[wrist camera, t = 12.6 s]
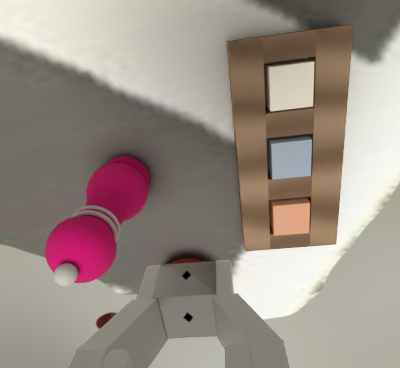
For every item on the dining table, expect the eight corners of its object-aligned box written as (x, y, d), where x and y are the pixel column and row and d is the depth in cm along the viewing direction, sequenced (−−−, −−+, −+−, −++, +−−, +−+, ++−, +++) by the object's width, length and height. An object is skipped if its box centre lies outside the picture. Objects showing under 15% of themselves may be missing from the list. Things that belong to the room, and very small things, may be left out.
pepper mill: (139, 144, 40) (76, 233, 22) (162, 190, 42) (123, 304, 24) (91, 162, 41) (-6, 259, 23) (116, 205, 44) (48, 323, 26)
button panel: (226, 41, 34) (228, 41, 30) (338, 25, 33) (353, 24, 29) (242, 234, 45) (245, 251, 41) (326, 227, 44) (336, 244, 40)
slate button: (266, 134, 37) (271, 143, 34) (303, 130, 36) (312, 139, 33) (267, 168, 39) (272, 179, 36) (302, 164, 38) (310, 175, 35)
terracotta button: (268, 192, 40) (273, 206, 37) (302, 189, 40) (310, 202, 37) (269, 221, 42) (274, 235, 39) (301, 218, 42) (309, 233, 39)
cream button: (263, 64, 33) (269, 67, 30) (304, 59, 33) (314, 61, 30) (265, 104, 35) (270, 111, 32) (304, 100, 35) (313, 106, 32)
